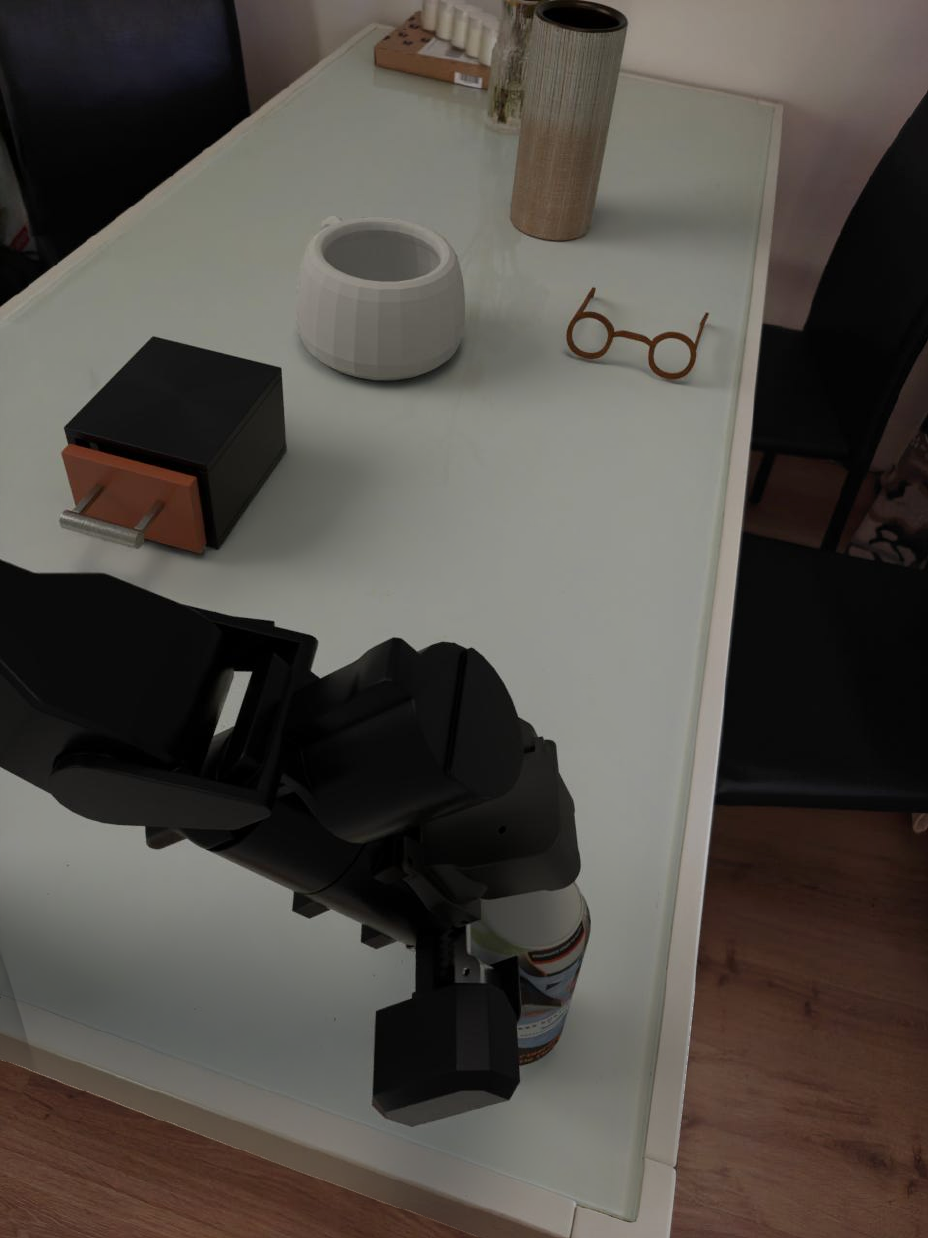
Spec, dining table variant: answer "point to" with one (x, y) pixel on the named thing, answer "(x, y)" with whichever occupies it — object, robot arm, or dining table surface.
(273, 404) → the small drawer box
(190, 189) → the dining table surface
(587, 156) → the tall ribbed vase
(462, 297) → the mug
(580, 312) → the glasses
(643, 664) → the dining table surface
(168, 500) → the drawer with bar handle
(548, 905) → the beverage can
